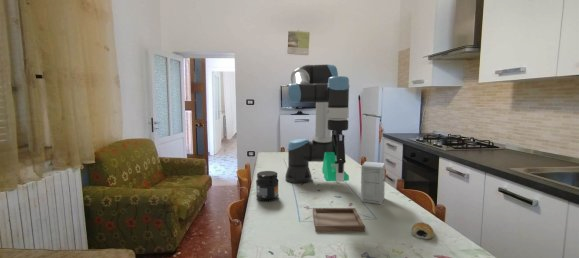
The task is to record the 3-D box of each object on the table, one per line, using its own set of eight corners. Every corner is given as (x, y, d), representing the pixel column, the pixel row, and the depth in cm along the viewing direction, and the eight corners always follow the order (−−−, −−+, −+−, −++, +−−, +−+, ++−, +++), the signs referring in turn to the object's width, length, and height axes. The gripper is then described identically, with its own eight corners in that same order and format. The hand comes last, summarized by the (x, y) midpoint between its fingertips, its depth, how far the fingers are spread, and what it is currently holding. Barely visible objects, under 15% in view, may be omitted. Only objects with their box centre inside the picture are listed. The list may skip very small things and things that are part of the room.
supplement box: (384, 197, 133) (385, 162, 131) (382, 204, 125) (383, 167, 123) (364, 195, 137) (364, 161, 135) (360, 201, 129) (361, 165, 127)
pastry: (414, 226, 105) (414, 216, 104) (434, 230, 101) (435, 220, 101) (410, 237, 96) (411, 226, 96) (432, 242, 93) (433, 231, 93)
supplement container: (281, 195, 137) (281, 171, 136) (273, 203, 127) (273, 177, 126) (262, 193, 141) (261, 169, 139) (252, 200, 131) (251, 175, 129)
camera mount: (349, 183, 101) (349, 155, 100) (328, 184, 100) (328, 155, 99) (341, 174, 113) (341, 149, 111) (322, 174, 112) (322, 149, 111)
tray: (312, 212, 117) (312, 207, 117) (354, 212, 116) (355, 208, 116) (315, 231, 100) (315, 226, 100) (364, 231, 100) (364, 226, 100)
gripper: (324, 116, 116) (323, 167, 119) (332, 122, 92) (331, 186, 94) (342, 116, 116) (341, 167, 118) (355, 122, 92) (353, 186, 94)
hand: (337, 176), depth 106 cm, fingers closed on camera mount, 12 cm apart
